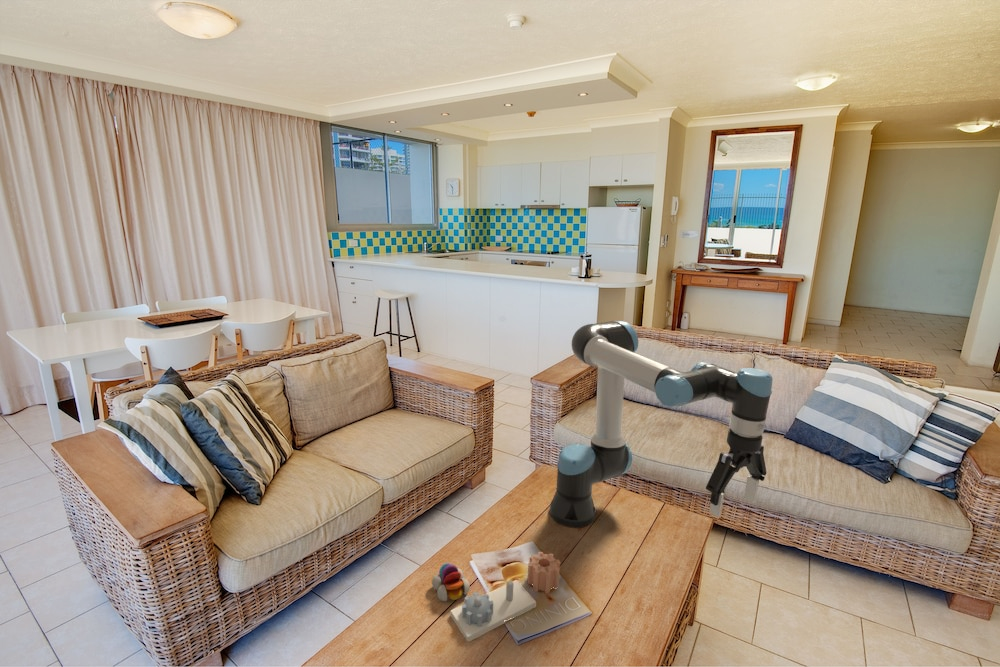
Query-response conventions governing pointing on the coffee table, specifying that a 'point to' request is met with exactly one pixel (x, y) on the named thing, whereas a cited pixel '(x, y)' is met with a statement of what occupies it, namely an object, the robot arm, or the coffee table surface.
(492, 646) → the coffee table surface
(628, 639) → the coffee table surface
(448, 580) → the white-domed colorful disc toy
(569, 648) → the coffee table surface
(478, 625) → the gear board
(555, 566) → the gear
